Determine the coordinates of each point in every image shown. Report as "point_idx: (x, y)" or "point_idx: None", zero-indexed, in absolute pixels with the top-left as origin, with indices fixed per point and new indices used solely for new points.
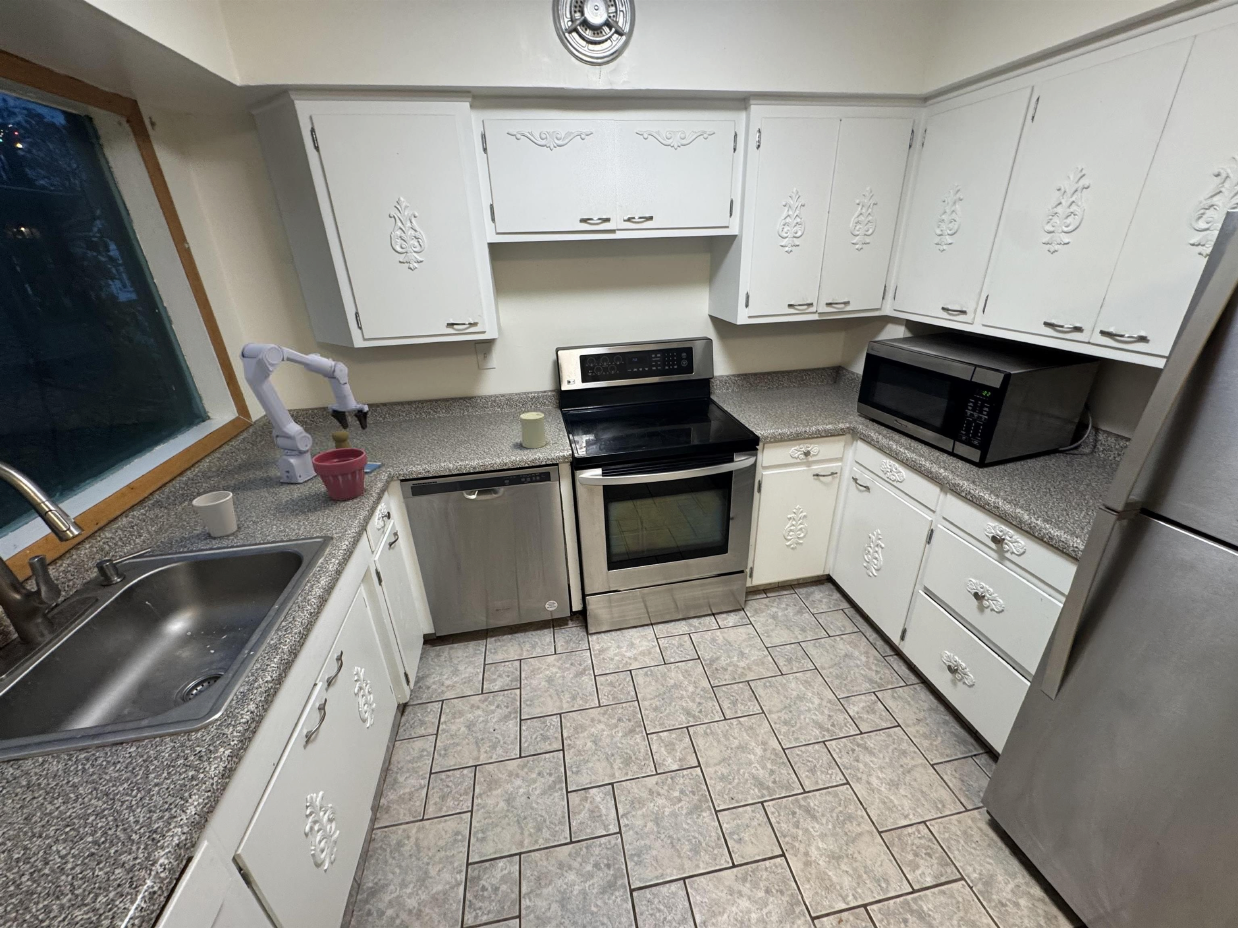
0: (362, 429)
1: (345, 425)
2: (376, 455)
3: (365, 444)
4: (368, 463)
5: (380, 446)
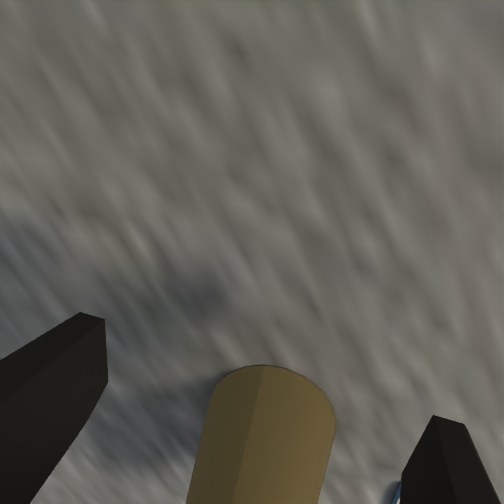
0: (402, 480)
1: (74, 403)
2: (493, 354)
3: (255, 14)
4: None
5: (464, 96)
